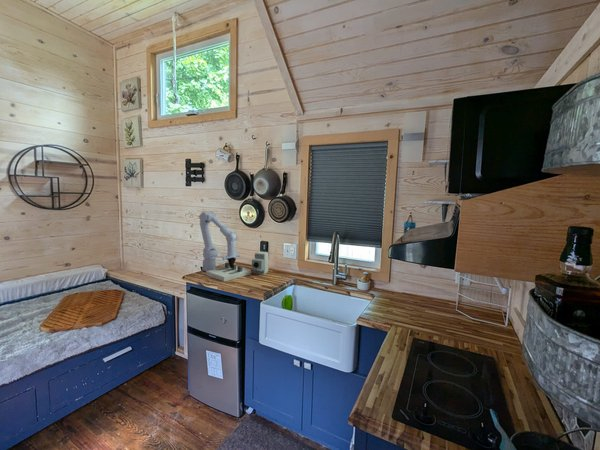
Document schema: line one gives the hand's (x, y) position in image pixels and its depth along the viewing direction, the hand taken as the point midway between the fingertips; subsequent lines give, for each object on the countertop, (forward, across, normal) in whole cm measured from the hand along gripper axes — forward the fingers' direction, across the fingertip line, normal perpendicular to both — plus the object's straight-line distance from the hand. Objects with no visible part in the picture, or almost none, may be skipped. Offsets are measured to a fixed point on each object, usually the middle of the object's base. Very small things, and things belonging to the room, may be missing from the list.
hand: (231, 268), depth 207 cm
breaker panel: (+4, -2, 0) cm, 5 cm away
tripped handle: (+1, +2, 0) cm, 2 cm away
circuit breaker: (+5, +15, -14) cm, 21 cm away
